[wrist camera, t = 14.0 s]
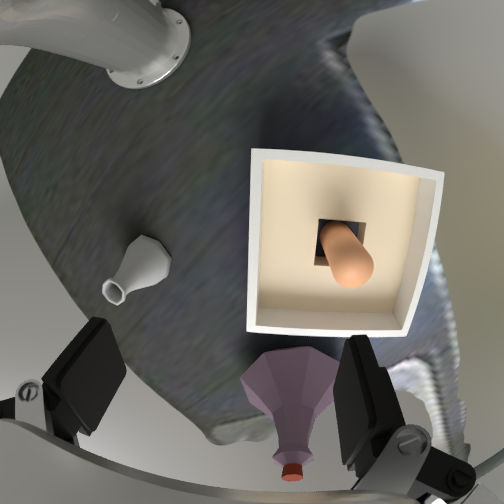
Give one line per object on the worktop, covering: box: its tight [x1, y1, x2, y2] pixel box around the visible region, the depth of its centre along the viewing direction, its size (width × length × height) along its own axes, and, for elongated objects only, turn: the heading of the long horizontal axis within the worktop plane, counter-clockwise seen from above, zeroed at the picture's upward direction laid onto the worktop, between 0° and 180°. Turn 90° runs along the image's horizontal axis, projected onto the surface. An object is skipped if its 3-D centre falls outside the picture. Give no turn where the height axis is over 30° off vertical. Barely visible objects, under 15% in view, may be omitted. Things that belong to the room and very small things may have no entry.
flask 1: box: [102, 235, 172, 305], centre depth 33 cm, size 7×7×10 cm
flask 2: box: [240, 346, 340, 481], centre depth 32 cm, size 16×16×20 cm
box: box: [247, 148, 444, 337], centre depth 30 cm, size 20×20×7 cm
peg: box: [320, 221, 374, 288], centre depth 29 cm, size 4×4×10 cm
